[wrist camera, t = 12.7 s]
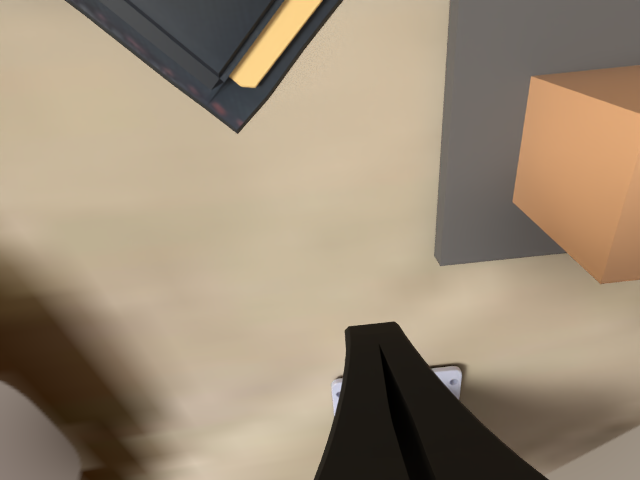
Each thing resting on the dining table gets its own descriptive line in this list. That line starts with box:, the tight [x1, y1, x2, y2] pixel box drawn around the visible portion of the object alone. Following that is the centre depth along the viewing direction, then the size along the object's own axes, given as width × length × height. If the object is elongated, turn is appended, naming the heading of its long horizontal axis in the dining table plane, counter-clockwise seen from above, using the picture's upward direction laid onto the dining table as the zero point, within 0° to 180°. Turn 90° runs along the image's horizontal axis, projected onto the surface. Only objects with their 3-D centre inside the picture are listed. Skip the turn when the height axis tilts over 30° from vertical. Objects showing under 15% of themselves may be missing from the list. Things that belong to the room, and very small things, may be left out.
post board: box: [434, 0, 640, 266], centre depth 17 cm, size 12×12×6 cm
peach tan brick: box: [512, 65, 640, 284], centre depth 16 cm, size 6×6×7 cm
